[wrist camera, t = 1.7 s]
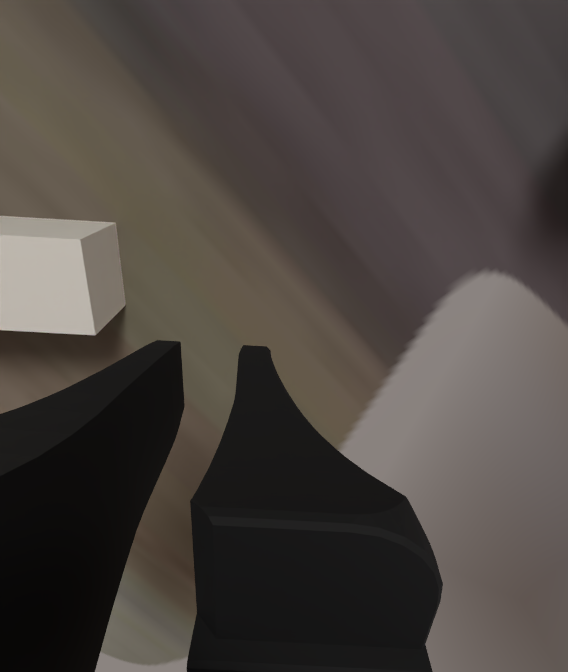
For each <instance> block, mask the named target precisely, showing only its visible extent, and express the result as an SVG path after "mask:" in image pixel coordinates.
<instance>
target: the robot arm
mask: <svg viewBox="0 0 568 672" xmlns="http://www.w3.org/2000/svg"><path fill="white" fill-rule="evenodd" d="M270 352H271V351H270V350H269V349H268V348H267V347H265V346H248V345H243V347H242V348H241V351H240V353H239V359H238V371H237V384H236V394H235V400H234V404H233V407H232V410H231V413H230V416H229V420H228V423H227V425H226V428H225V431H224V433H223V436H222V439H221V442H220V444H219V446H218V449H217V451H216V453H215V456H214V458H213V460H212V462H211V465H210V467H209V469H208V471H207V472H206V474H205V476H204V478H203V480H202V482H201V484H200V486H199V488H198V489H197V491H196V493H195V494H194V496H193V498H192V499H191V501H190V503H191V520H192V536H193V553H194V569H195V586H196V602H197V616H196V621H195V626H194V630H193V635H192V640H191V645H190V650H189V655H188V661H187V672H432V668H431V665H430V661H429V657H428V653H427V650H426V646H425V643H426V640H427V637H428V635H429V632H430V629H431V626H432V623H433V620H434V618H435V615H436V611H437V609H438V606H439V603H440V599H441V593H442V586H443V583H442V580H441V576H440V573H439V569H438V565H437V562H436V559H435V556H434V553H433V550H432V548H431V545H430V543H429V541H428V539H427V536H426V534H425V532H424V530H423V528H422V526H421V524H420V522H419V520H418V518H417V516H416V514H415V512H414V510H413V508H412V506H411V505H410V503H409V501H408V499H407V498H406V496H404V495H402V494H401V493H399V492H397V491H396V490H394V489H392V488H391V487H389V486H387V485H386V484H384V483H383V482H381V481H379V480H378V479H376V478H375V477H373V476H371V475H370V474H368V473H367V472H365V471H364V470H362V469H361V468H360V467H358V466H357V465H356V464H354V463H353V462H351V461H350V460H349V459H347V458H346V457H345V456H344V455H342V454H341V453H340V452H339V451H337V450H336V449H335V448H334V447H333V446H332V445H331V444H330V443H329V442H328V441H327V440H325V439H324V438H323V437H322V436H321V435H320V434H319V433H318V432H317V431H316V430H315V429H314V427H313V426H312V425H311V424H310V423H309V422H308V420H307V419H306V418H305V417H304V416H303V414H302V413H301V412H300V410H299V409H298V408H297V406H296V405H295V403H294V402H293V400H292V399H291V397H290V396H289V394H288V392H287V391H286V389H285V387H284V385H283V383H282V382H281V380H280V378H279V376H278V374H277V372H276V369H275V367H274V364H273V361H272V358H271V353H270ZM183 410H184V392H183V376H182V360H181V343H180V342H177V341H160V340H157V341H155V342H152V343H150V344H148V345H146V346H144V347H143V348H141V349H139V350H137V351H135V352H134V353H132V354H130V355H128V356H127V357H125V358H123V359H121V360H119V361H118V362H116V363H114V364H112V365H111V366H109V367H107V368H105V369H103V370H102V371H100V372H98V373H96V374H94V375H92V376H90V377H88V378H86V379H84V380H82V381H80V382H78V383H76V384H74V385H72V386H70V387H68V388H66V389H64V390H61V391H59V392H57V393H55V394H52V395H50V396H48V397H45V398H43V399H40V400H38V401H35V402H33V403H30V404H28V405H25V406H23V407H20V408H17V409H14V410H11V411H8V412H5V413H2V414H0V672H95V669H96V665H97V661H98V658H99V654H100V651H101V647H102V643H103V640H104V636H105V633H106V629H107V625H108V622H109V618H110V615H111V611H112V608H113V605H114V601H115V598H116V595H117V591H118V588H119V585H120V581H121V578H122V574H123V571H124V568H125V565H126V562H127V558H128V555H129V552H130V549H131V546H132V543H133V540H134V537H135V533H136V530H137V527H138V525H139V522H140V520H141V517H142V514H143V512H144V509H145V507H146V505H147V503H148V500H149V498H150V496H151V494H152V491H153V489H154V487H155V485H156V482H157V480H158V478H159V475H160V473H161V471H162V469H163V466H164V464H165V462H166V459H167V457H168V455H169V453H170V450H171V448H172V446H173V443H174V441H175V438H176V435H177V432H178V428H179V425H180V421H181V417H182V413H183Z"/></svg>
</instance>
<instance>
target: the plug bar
mask: <svg viewBox="0 0 568 672" xmlns="http://www.w3.org/2000/svg"><path fill="white" fill-rule="evenodd" d="M125 305H126V303H125V295H124V287H123V278H122V270H121V262H120V253H119V245H118V236H117V228H116V223H112V222H95V221H78V220H61V219H44V218H27V217H10V216H0V330H8V331H26V332H44V333H62V334H80V335H96V334H97V333H98V332H99V331H100V330H101V329H102V328H103V327H104V326H105V325H106V324H107V323H108V322H109V321H110V320H111V319H112V318H113V317H114V316H115V315H116V314H117V313H118V312H119V311H120V310H121V309H122V308H123V307H124V306H125Z"/></svg>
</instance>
